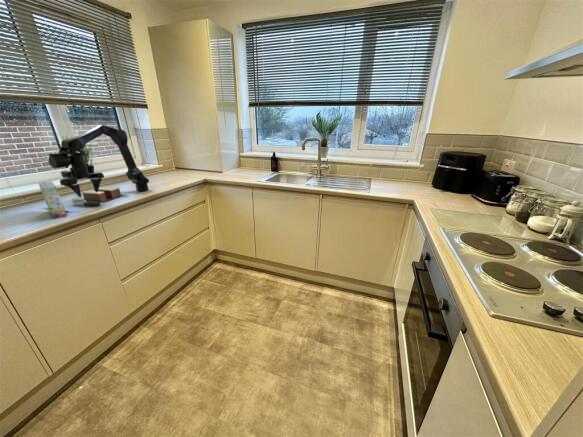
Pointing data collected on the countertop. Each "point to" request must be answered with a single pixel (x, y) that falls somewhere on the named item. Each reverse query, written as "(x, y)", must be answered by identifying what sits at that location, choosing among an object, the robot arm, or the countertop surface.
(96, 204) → the knife
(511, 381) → the countertop surface
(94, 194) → the cake slice
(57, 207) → the snack box
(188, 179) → the countertop surface
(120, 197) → the cake board
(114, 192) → the sheet cake
